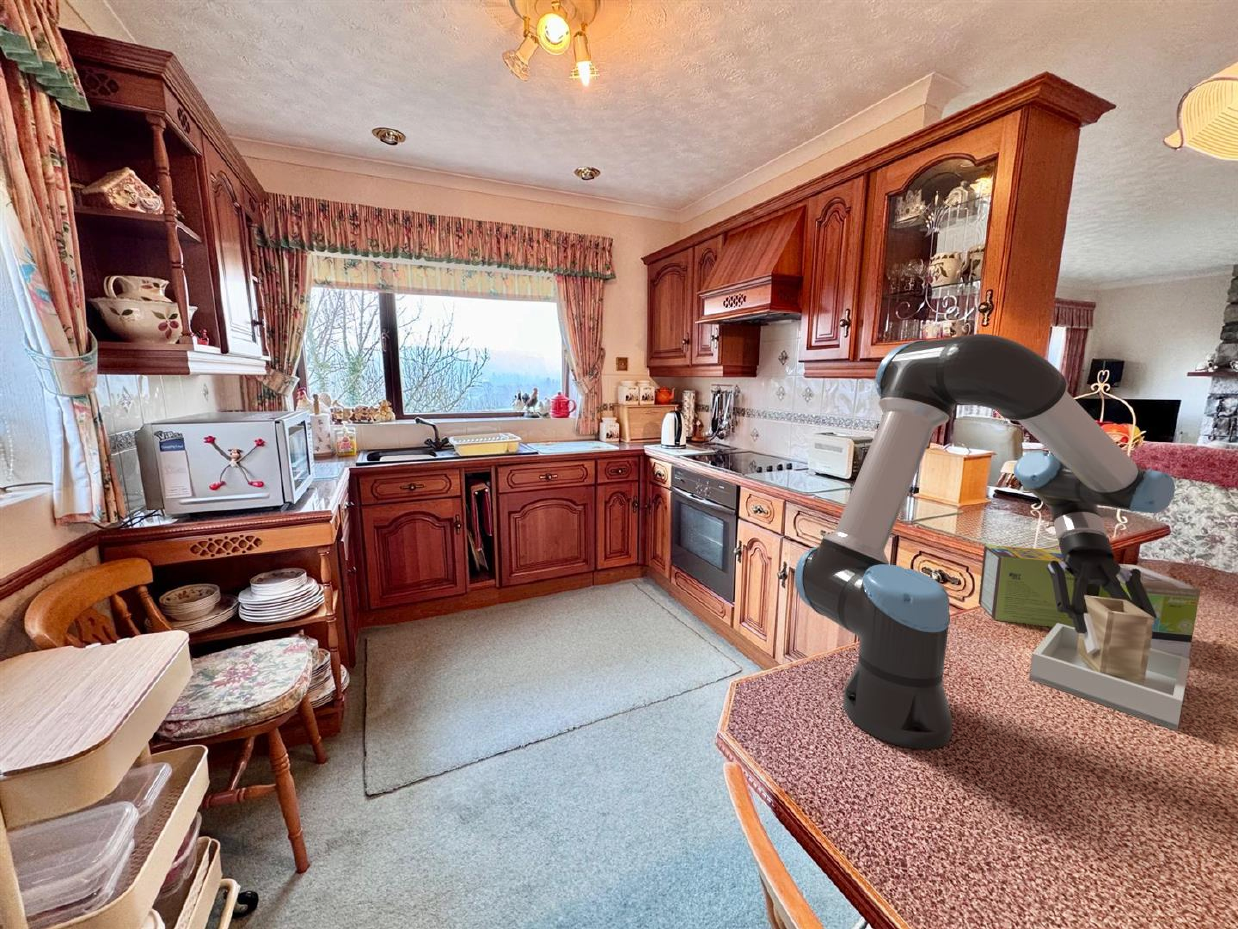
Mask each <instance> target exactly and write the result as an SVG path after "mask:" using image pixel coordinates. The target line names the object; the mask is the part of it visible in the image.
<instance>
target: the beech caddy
mask: <svg viewBox="0 0 1238 929" xmlns="http://www.w3.org/2000/svg"><path fill="white" fill-rule="evenodd" d="M1084 598H1085V605H1084V611H1083V614H1084V613H1087V614H1090V617H1091V620H1092V624H1093V627H1094V631H1095V634H1096V638H1097V641H1098V645H1099V648H1100V649H1099V650H1098V651H1096V652H1095V653H1094V654H1088V653H1087V650H1086V646H1085V642H1084V639H1083V635H1082V633H1079V639H1078V646H1077V654H1076V656H1078V657H1079V658H1080V659H1081V660H1082V661H1083V662H1084V663H1085V664H1086V665H1087V666H1088V667H1089V668H1090V669H1091V670H1093V671H1096V672H1100V673H1103V674H1106V675H1109V676H1112V677H1115V678H1119V679H1122V680H1125V681H1128V682H1131V683H1137V684H1144V682H1145V675H1146V669H1147V663H1148V656H1149V650H1150V644H1151V637H1152V631H1153V624H1154V617H1152V616H1151V615H1149V614H1148V613H1146V612H1144V611H1143V610H1141V609H1140V608H1138V607H1136V606H1135V605H1133V604H1132V603H1130V602H1129V601H1127V600H1122V599H1113V598H1105V597H1096V596H1088V595H1084Z"/></svg>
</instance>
